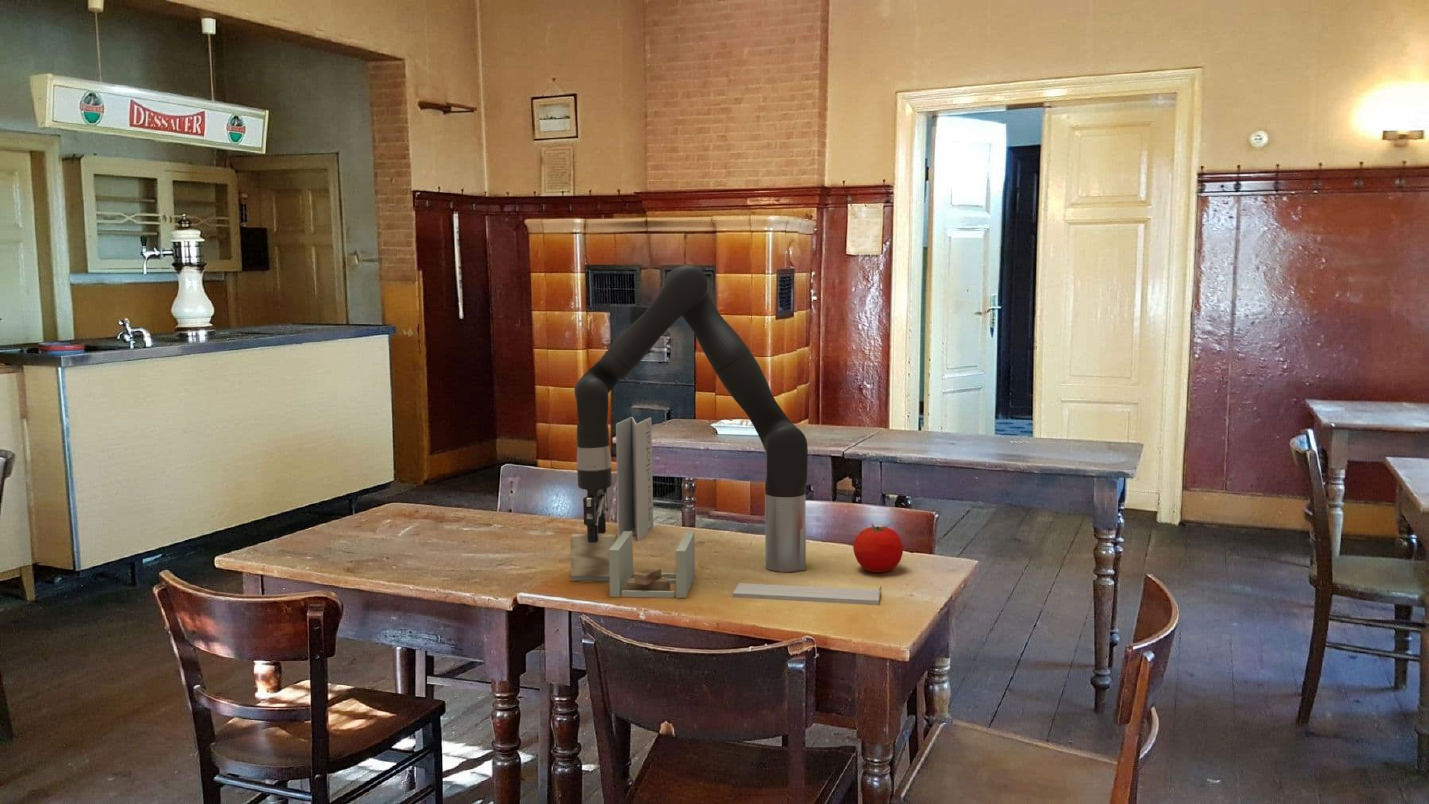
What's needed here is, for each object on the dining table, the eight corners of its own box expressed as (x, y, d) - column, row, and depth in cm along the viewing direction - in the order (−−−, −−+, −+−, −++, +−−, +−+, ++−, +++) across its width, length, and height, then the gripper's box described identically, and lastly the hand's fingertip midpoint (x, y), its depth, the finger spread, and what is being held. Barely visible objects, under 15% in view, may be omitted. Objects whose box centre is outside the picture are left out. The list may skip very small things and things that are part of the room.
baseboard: (741, 586, 226) (732, 599, 216) (741, 573, 226) (732, 586, 216) (881, 593, 220) (878, 607, 210) (881, 580, 219) (879, 594, 210)
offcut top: (650, 576, 223) (649, 567, 223) (661, 577, 222) (661, 568, 222) (634, 583, 218) (634, 573, 218) (646, 584, 217) (646, 575, 216)
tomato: (910, 566, 238) (911, 522, 237) (891, 580, 227) (892, 534, 226) (864, 560, 244) (865, 517, 243) (844, 573, 233) (844, 529, 232)
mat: (622, 571, 237) (622, 569, 237) (614, 582, 228) (614, 580, 228) (579, 570, 238) (579, 568, 238) (570, 581, 229) (570, 579, 229)
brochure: (638, 540, 265) (636, 424, 261) (618, 539, 266) (615, 424, 262) (653, 528, 279) (651, 417, 275) (633, 527, 280) (631, 416, 276)
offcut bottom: (668, 590, 222) (668, 577, 222) (670, 594, 219) (669, 581, 219) (626, 592, 221) (626, 579, 221) (627, 597, 218) (627, 583, 218)
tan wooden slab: (617, 573, 233) (616, 534, 232) (615, 576, 231) (614, 537, 230) (573, 572, 234) (572, 533, 233) (571, 575, 232) (570, 536, 231)
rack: (694, 575, 232) (694, 532, 231) (685, 598, 216) (685, 551, 215) (624, 574, 234) (623, 531, 233) (610, 596, 217) (609, 549, 216)
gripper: (604, 471, 223) (607, 545, 224) (616, 460, 237) (619, 529, 238) (570, 472, 223) (573, 545, 225) (584, 460, 237) (587, 530, 239)
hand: (597, 537), depth 232 cm, fingers open, 8 cm apart
